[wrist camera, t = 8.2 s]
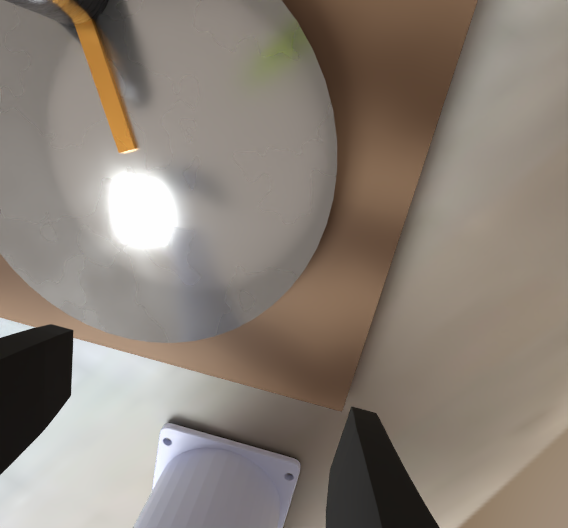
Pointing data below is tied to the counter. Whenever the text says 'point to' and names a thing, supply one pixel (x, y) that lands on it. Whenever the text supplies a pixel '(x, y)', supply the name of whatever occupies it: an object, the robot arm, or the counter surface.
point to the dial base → (344, 211)
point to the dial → (161, 160)
